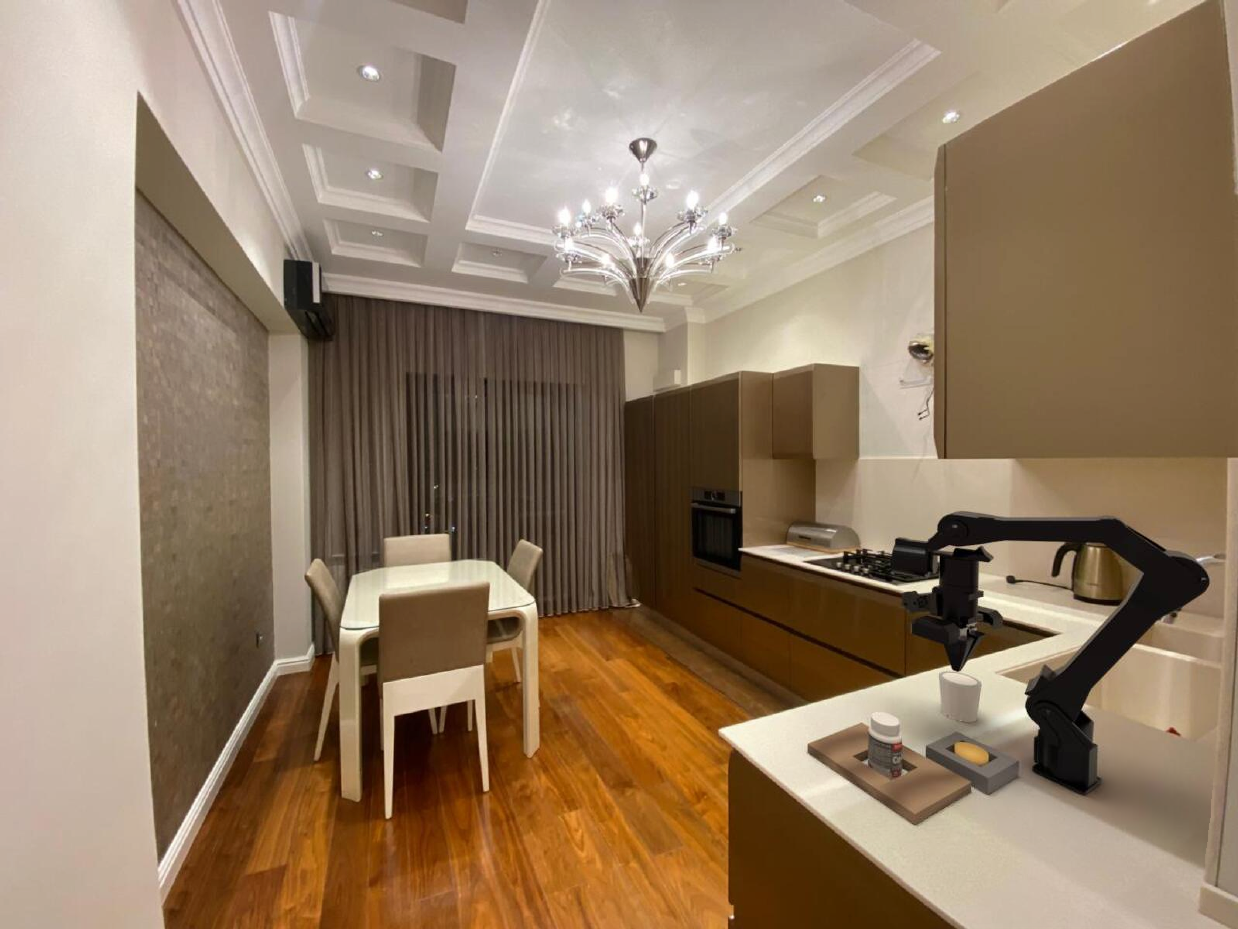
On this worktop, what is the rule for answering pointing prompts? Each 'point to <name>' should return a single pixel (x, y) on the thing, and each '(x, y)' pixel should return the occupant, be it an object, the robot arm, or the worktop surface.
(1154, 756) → the worktop surface
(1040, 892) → the worktop surface
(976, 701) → the white cup
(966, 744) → the button
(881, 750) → the pill bottle
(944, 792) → the brown wooden rectangular frame
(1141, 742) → the worktop surface
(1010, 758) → the button collar
